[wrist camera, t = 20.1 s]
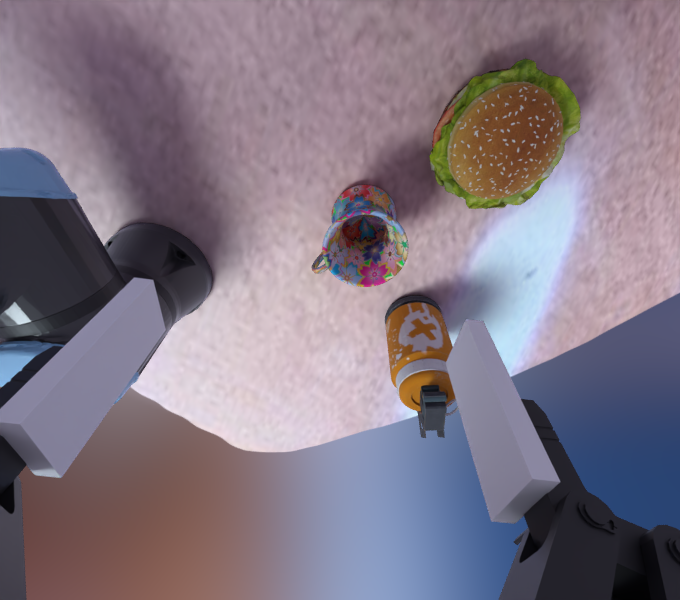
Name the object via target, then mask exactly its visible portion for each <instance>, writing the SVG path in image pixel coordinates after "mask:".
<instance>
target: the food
mask: <svg viewBox="0 0 680 600" xmlns="http://www.w3.org/2000/svg"><path fill="white" fill-rule="evenodd" d="M579 121H580V107H579V105H578V102H577V100H576V97H575V95H574V93H573V92H572V91H571V90H570V89H569V88H568V86H567V85H566V84H565V82H564V81H563V80H562V79H561V78H560V77H557V76H549V75H547V74H545V73H544V72H542V70H538V69H537V67H536V63H535V62H534V61H532V60H529V59H523V60H521V61H518V62H517V63H516V64H514V65H513V66H512V67H511V68H510V69H503V70H495V71H490V72H488V73H486V74H484V75H482V76H475V77H474V78H473V79H471V80H470V82H469V83H468V84H467V85H466V86H465V87H464V88H462V89H461V90H460V91H458V92H457V94H456V95H455V96H454V97H453V99H452V100H451V101H450V103H449V104H448V105H447V106H446V108H445V110H444V112H443V114H442V116H441V118H440V120H439V122H438V124H437V127H436V128H435V130H434V135H433V141H432V142H433V144H432V147H433V149H432V151H431V152H430V153H432V154H431V155H429V156H430V164H431V169H432V170H433V171H434V172H435V177H436V181H437V183H438V184H439V185H441V186H443V185H444V186H445V190H446V191H447V192H450V193H452V194H455V195H456V196H458V197H459V198H461V199H465V200H466V205H467V206H468V207H469V208H470V209H477V208H484V209H487V208H494V207H495V208H504V207H505V206H506V205H507V204H512V205H521V204H522V203H524V202H526V201H527V200H528V199H530V198H531V197H532V196H533V195H534V194H535V193H536V192H537V191H538V190H539V187H540V185H541V183H542V182H543V181H544V180H545V179H546V178H548V177H549V175H550V174H551V173H552V171H553V169H554V167H555V166H556V165H557V164H558V163H559V161H560V160H561V158H562V155H563V153H564V145H565V141H566V140H567V138H568V137H569V136H571V135H573V134H574V133H576V132H578V131H579V128H580V123H579Z"/></svg>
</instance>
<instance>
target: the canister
mask: <svg viewBox="0 0 680 600" xmlns="http://www.w3.org/2000/svg"><path fill="white" fill-rule="evenodd" d="M385 324H386V334H387V343H388V353H389V362H390V371H391V379H392V382H393V384H394V386H395V387H396V388H397V394H398V397H399V398H400V400H401V401H402V402H403V403H404V404H405V405H406V406H407V407H409V408H411V409H413V410H416V411H417V412H418V418H419V425H420V432H421V437H422V438H426V434H425V431H427V430H437V434H438V437H443V438H444V424H445V415H446V416H448V415H451V414H453V413H455V412H456V411H457V410H458V409H459V408H458V407H457V408H456V409H455V410H454V411H453V412H451V413H446V409H447V407H448V406H449V405H451V404H452V403H453V402H455V401H456V398H455V394H454V391H453V387H452V384H451V380H450V377H449V373H448V370H447V367H446V361H447V359H448V357H449V355H450V353H451V350H452V348H453V346H452V343H451V340H450V337H449V334H448V331H447V328H446V325H445V322H444V319H443V316H442V313H441V310H440V308H439V306H438V305H437V304H436V303H435V302H434V301H433V300H431V299H429V298H427V297H423V296H409V297H405V298H402V299H400V300H398V301H396V302H395V303H393V304H392V305H391V306H390V308H389V309H388V310H387V313H386V316H385ZM421 423H422V427H423V429H421Z"/></svg>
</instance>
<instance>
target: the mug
mask: <svg viewBox="0 0 680 600" xmlns="http://www.w3.org/2000/svg"><path fill="white" fill-rule="evenodd" d="M322 251H323V252H322V253H321V254H320V255H319V256H318V257H317V259H316V260H315V261H314V263H313V265H312V270H313V272H314V273H321V272H324V271H326V270H327V269H329V270H330V271H331V273H332V274H333V275H334V276H335V277H337V278H338V279H339V280H341V281H343V282H344V283H347V284H349V285H353V286H358V287H371V286H376V285H380V284H382V283H385V282H387V281H389V280H390V279H392V278H393V277H394V276H395V275H396V274H397V273H398V272H399V271H400V270H401V269H402V267H403V265H404V264H405V261H406V259H407V255H408V240H407V236H406V233H405V231H404V230H403V228H402V226H401V225H400V224H399V223H398V222H397V221H396V208H395V205H394V203H393V201H392V199H391V198H390V196H389V195H388V194H387V193H386V192H385V191H383V190H382V189H380V188H378V187H375V186H371V185H358V186H354V187H352V188H349V189H348V190H346V191H345V192H343V193H342V194H341V195H340V196H339V197H338V199H337V200H336V202H335V204H334V206H333V210H332V225H331V226H330V228H329V229H328V231H327V233H326V235H325V237H324V241H323V248H322ZM323 259H324V261H325V264H324V265H322V266H320V267H318V265H319V264H320V263H321V261H322V260H323ZM317 267H318V268H317Z"/></svg>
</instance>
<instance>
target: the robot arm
mask: <svg viewBox="0 0 680 600" xmlns="http://www.w3.org/2000/svg"><path fill="white" fill-rule="evenodd" d="M77 198H78V197H77V195H76V194H75V193H73V192H72V191H71V190H70V188H69V187H68V186H67V184H66V183H65V181H64V180H63V178H62V177H61V175H60V174H59V172H58V171H57V169H56V168H55V166H54V165H53V163H52V162H51V161H50V160H49V159H48V158H47V157H46V156H44V155H43V154H41V153H39V152H37V151H34V150H32V149H27V148H0V386H1V387H2V388H0V600H26V582H25V559H24V536H23V516H22V515H23V514H22V491H21V481H20V479H19V477H18V475H19V474H20V472H21V471H22V470H23V469H24V467H25V466H26V465H27V466H28V468H29V469H30V470H31V471H32V472H33V473H34V474H35V475H39V476H49V477H59V478H61V477H62V476H63V475H64V473H65V472H66V471H67V469H68V468H69V466H70V465H71V463H72V462H73V460H74V459H75V458H76V456H77V455H78V454H79V452H80V451H81V449H82V448H83V446H84V445H85V443H86V442H87V441H88V439H89V438H90V437H91V435H92V434H93V432H94V431H95V429H96V428H97V427H98V425H99V424H100V422H101V421H102V420H103V418H104V417H105V415H106V414H107V413H108V411H109V410H110V408H111V407H112V405H113V404H115V403H116V402H118V401H119V400H120V399H121V398H122V396H123V395H124V394H125V393H126V391H127V390H128V389H129V388H130V386H131V385H132V384H133V383H135V382H136V381H137V379H138V377H139V376H140V374H141V373H142V371H143V370H144V368H145V367H146V365H147V364H148V362H149V360H150V359H151V357H152V356H153V354H154V353H155V351H156V350H157V348H158V347H159V345H160V344H161V342H162V341H163V339H164V338H165V336H166V335H167V333H168V332H169V330H170V329H171V327H172V326H173V324H174V323H176V322H177V321H179V320H180V319H181V318H182V317H184V316H185V315H188V314H190V313H192V312H193V311H195V310H196V309H198V308H199V307H200V306H201V305H202V303H203V302H204V301H205V299H206V297H207V296H208V294H209V292H210V290H211V286H212V273H211V269H210V266H209V264H208V262H207V260H206V258H205V257H204V255H203V254H202V252H201V251H200V250H199V249H198V248H197V247H196V246H195V245H194V244H193V243H192V242H191V241H190V240H189V239H187V238H186V237H184V236H183V235H181V234H180V233H178V232H176V231H174V230H172V229H170V228H167V227H164V226H161V225H157V224H151V223H138V224H133V225H129V226H127V227H125V228H123V229H121V230H120V231H119V232H117V233H116V234H115V235H113V236H112V237H111V238H110V239H109V240H108V241H107V242H106V244H105V246H103V244H102V242H101V241H100V239H99V237H98V236H97V234H96V232H95V230H94V229H93V227H92V225H91V223H90V222H89V220H88V218H87V217H86V215H85V213H84V211H83V210H82V208H81V206H80V204H79V203H78V201H77ZM446 367H447V370H448V373H449V377H450V380H451V384H452V387H453V391H454V394H455V398H456V401H457V404H458V408H459V411H460V415H461V418H462V422H463V425H464V429H465V432H466V436H467V439H468V442H469V446H470V449H471V452H472V456H473V460H474V463H475V467H476V470H477V473H478V477H479V480H480V483H481V487H482V491H483V494H484V498H485V501H486V505H487V508H488V511H489V515H490V518H491V521H494V522H504V523H516V522H517V521H518V520H520V519H521V518H522V517H523V516H524V517H525V520H526V522H527V525H528V528H527V529H526V530H525V531H524V532H523V533H522V534H520V535H519V536H518V537H517V538H516V540H515V541H514V543H515V544H517V545H518V544H519V543H520V542H521V543H520V545H519V548H518V551H517V553H516V556H515V559H514V561H513V564H512V567H511V569H510V571H509V574H508V577H507V579H506V582H505V584H504V587H503V590H502V592H501V595H500V597H499V600H680V530H678V529H676V528H673V527H670V526H668V525H658V526H656V527H654V528H653V529H651V530H647V529H644V528H642V527H640V526H637V525H635V524H633V523H630V522H628V521H626V520H623V519H621V518H618V517H617V516H615V515H614V514H613V512H612V511H611V510H610V509H609V507H608V506H607V505H606V504H605V503H604V502H602V501H601V500H600V499H599V498H598V497H596V496H594V495H592V494H591V493H589V492H587V490H586V489H585V487H584V486H583V484H582V482H581V480H580V478H579V476H578V474H577V473H576V471H575V469H574V467H573V465H572V463H571V461H570V459H569V457H568V456H567V454H566V452H565V450H564V448H563V446H562V444H561V443H560V442H559V438H558V437H557V435H556V433H555V431H553V427H552V425H551V423H550V422H549V420H548V418H547V416H546V414H545V413H544V412H543V411H542V410H541V409H540V407H539V406H538V405H537V404H536V403H535V402H534V401H533V400H525V399H520V397H519V395H518V393H517V390H516V388H515V386H514V384H513V382H512V380H511V378H510V376H509V374H508V372H507V369H506V367H505V365H504V363H503V361H502V359H501V357H500V355H499V353H498V351H497V349H496V347H495V344H494V342H493V340H492V338H491V336H490V334H489V332H488V330H487V328H486V326H485V324H484V322H483V321H478V320H470V319H465V322H464V324H463V326H462V328H461V331H460V333H459V335H458V337H457V339H456V342H455V344H454V346H453V348H452V350H451V353H450V355H449V357H448V359H447V361H446Z"/></svg>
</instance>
